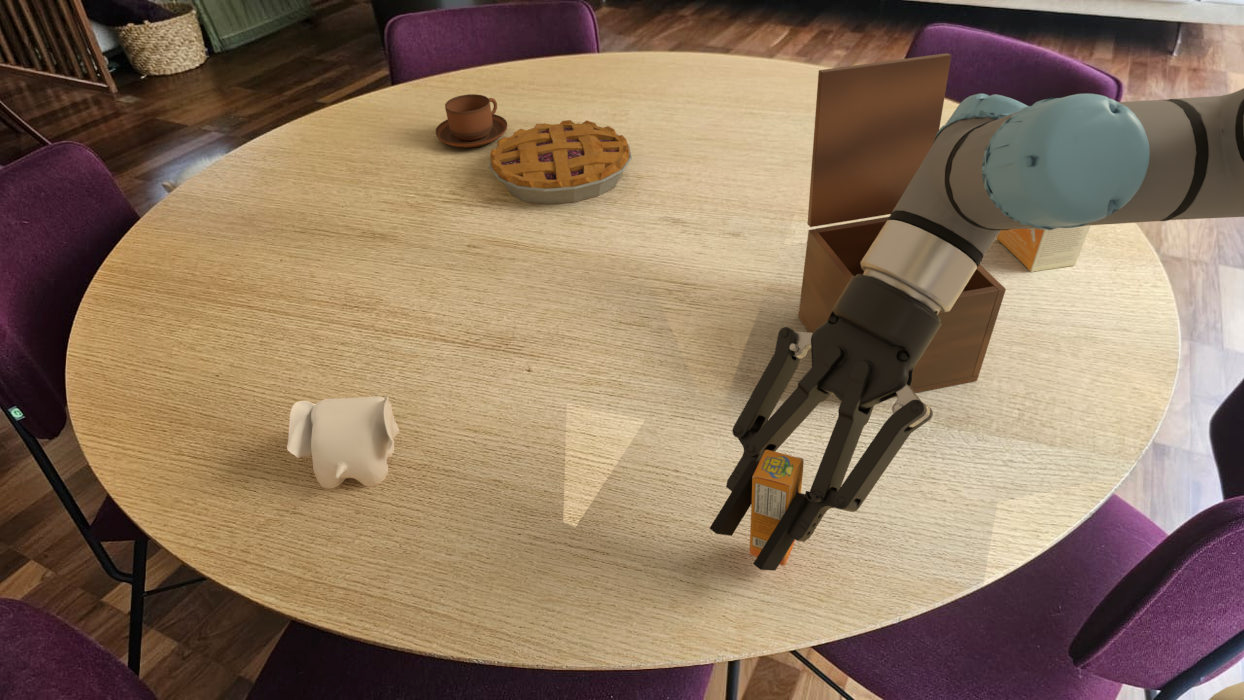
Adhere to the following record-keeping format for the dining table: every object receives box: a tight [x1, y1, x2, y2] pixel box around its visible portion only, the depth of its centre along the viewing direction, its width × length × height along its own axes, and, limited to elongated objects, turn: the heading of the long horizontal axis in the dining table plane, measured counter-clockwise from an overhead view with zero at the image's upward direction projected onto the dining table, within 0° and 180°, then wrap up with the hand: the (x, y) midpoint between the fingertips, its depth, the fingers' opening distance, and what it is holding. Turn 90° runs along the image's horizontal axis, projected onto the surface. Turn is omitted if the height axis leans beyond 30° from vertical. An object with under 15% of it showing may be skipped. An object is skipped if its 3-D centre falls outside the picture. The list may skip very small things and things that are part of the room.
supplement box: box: [748, 450, 805, 566], centre depth 65 cm, size 3×3×10 cm
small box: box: [996, 225, 1091, 273], centre depth 99 cm, size 8×6×13 cm
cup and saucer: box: [435, 93, 508, 148], centre depth 135 cm, size 12×12×6 cm
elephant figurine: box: [286, 395, 400, 490], centre depth 77 cm, size 10×12×9 cm
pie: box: [488, 119, 633, 205], centre depth 123 cm, size 22×22×5 cm
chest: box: [797, 216, 1007, 398], centre depth 86 cm, size 16×14×12 cm
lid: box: [807, 52, 952, 228], centre depth 86 cm, size 16×14×6 cm
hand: (742, 548), depth 64 cm, fingers closed on supplement box, 4 cm apart
